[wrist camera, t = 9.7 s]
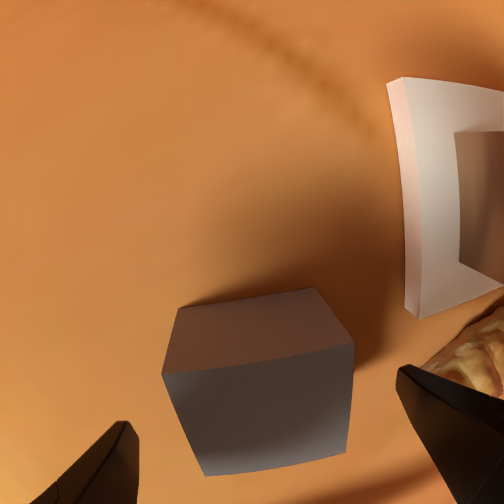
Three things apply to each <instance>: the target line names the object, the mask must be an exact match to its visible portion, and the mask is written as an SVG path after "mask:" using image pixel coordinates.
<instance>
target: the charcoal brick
mask: <svg viewBox="0 0 504 504" xmlns="http://www.w3.org/2000/svg"><path fill="white" fill-rule="evenodd" d="M354 356H355V341H354V340H353V338H352V337H351V336H350V334H349V333H348V332H347V330H346V329H345V327H344V326H343V325H342V323H341V322H340V321H339V319H338V318H337V317H336V315H335V314H334V312H333V311H332V310H331V308H330V307H329V306H328V304H327V303H326V302H325V300H324V299H323V298H322V296H321V295H320V294H319V292H318V291H317V290H316V288H315V287H312V288H306V289H301V290H295V291H289V292H283V293H278V294H272V295H266V296H259V297H253V298H247V299H241V300H234V301H228V302H221V303H214V304H207V305H200V306H193V307H186V308H178V311H177V315H176V318H175V322H174V326H173V330H172V333H171V337H170V341H169V345H168V349H167V353H166V357H165V361H164V365H163V369H162V373H161V375H162V377H163V380H164V383H165V385H166V388H167V391H168V393H169V396H170V398H171V401H172V403H173V406H174V408H175V411H176V413H177V416H178V418H179V421H180V423H181V425H182V428H183V430H184V432H185V435H186V437H187V439H188V441H189V444H190V446H191V448H192V450H193V452H194V454H195V457H196V459H197V461H198V463H199V465H200V467H201V469H202V471H203V473H204V475H205V476H218V475H230V474H239V473H247V472H255V471H262V470H268V469H274V468H280V467H285V466H291V465H296V464H300V463H305V462H310V461H314V460H318V459H322V458H326V457H330V456H334V455H337V454H341V453H345V452H346V445H347V437H348V429H349V420H350V410H351V399H352V387H353V373H354Z"/></svg>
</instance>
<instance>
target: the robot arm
mask: <svg viewBox="0 0 504 504" xmlns="http://www.w3.org/2000/svg"><path fill="white" fill-rule="evenodd" d="M396 391H397V393H398V396H399V398H400V400H401V402H402V404H403V406H404V409H405V411H406V413H407V415H408V418H409V420H410V422H411V424H412V426H413V428H414V429H415V431H416V433H417V434H418V436H419V438H420V440H421V441H422V443H423V445H424V446H425V448H426V450H427V451H428V453H429V455H430V456H431V458H432V460H433V462H434V463H435V465H436V467H437V468H438V470H439V472H440V474H441V475H442V477H443V479H444V481H445V482H446V484H447V486H448V488H449V490H450V491H451V493H452V495H453V497H454V499H455V500H456V502H457V504H504V400H502V399H499V398H496V397H494V396H491V397H490V395H488V394H485V393H483V392H480V391H477V390H475V389H472V388H469V387H467V386H464V385H461V384H459V383H456V382H454V381H451V380H448V379H446V378H443V377H441V376H438V375H436V374H433V373H431V372H428V371H426V370H423V369H421V368H418V367H416V366H413V365H411V364H407V365H404V366H402V367H400V368H398V371H397V378H396ZM138 486H139V437H138V435H137V434H136V432H135V430H134V429H133V427H132V425H131V424H130V422H128V421H117V422H115V423H114V424H113V425H112V426H111V427H110V428H109V429H108V430H107V431H106V432H105V433H104V434H103V435H102V436H101V437H100V438H99V439H98V440H97V441H96V442H95V443H94V444H93V445H92V446H91V447H90V448H89V449H88V450H87V451H86V452H85V453H84V454H83V455H82V456H81V457H80V458H79V459H78V460H77V461H76V462H75V463H74V464H73V465H72V466H71V467H70V468H69V469H68V470H66V471H65V472H64V473H63V474H62V475H61V476H60V477H59V478H58V479H57V481H55V482H54V483H53V484H52V485H51V486H50V487H49V488H48V489H46V490H45V491H44V492H43V493H42V494H41V495H40V496H38V497H37V498H36V499H35V500H33V501H32V502H31V503H29V504H137V495H138Z"/></svg>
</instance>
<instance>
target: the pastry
mask: <svg viewBox="0 0 504 504" xmlns="http://www.w3.org/2000/svg"><path fill="white" fill-rule="evenodd" d="M421 369H423V370H426V371H428V372H431V373H433V374H436V375H438V376H441V377H443V378H446V379H448V380H451V381H454V382H456V383H459V384H461V385H464V386H467V387H469V388H472V389H475V390H477V391H480V392H483V393H485V394H488V395H490V397H491V396H494V397H496V398H499V397H500V396H501V395H502V394H503V393H504V305H503V306H501V307H499V308H497V309H496V310H495V311H494V312H493V313H492V314H491V315H489V316H488V317H486V318H483V319H482V320H480V321H479V322H477V323H474V324H471V325H469V326H467V327H466V328H465V329H463V331H462V332H461V334H460V335H459V336H458V337H457V338H456V339H454V340H453V341H451V342H450V343H449V344H448V345H447V346H446V347H445V348H444V349H442V350H441V351H440V352H439V353H437V354H436V355H435V356H434V357H432V358H431V359H430V360H429V361H428V362H427V363H426V364H424V365H423V366H422V367H421Z"/></svg>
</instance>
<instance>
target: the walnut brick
mask: <svg viewBox="0 0 504 504" xmlns="http://www.w3.org/2000/svg"><path fill="white" fill-rule="evenodd" d="M454 140H455V148H456V157H457V168H458V181H459V201H460V247H459V262H460V263H462V264H464V265H466V266H468V267H470V268H472V269H474V270H476V271H478V272H480V273H482V274H483V275H485V276H487V277H489V278H491V279H493V280H495V281H497V282H499V283H501V284H503V285H504V131H491V132H462V133H454Z"/></svg>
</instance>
